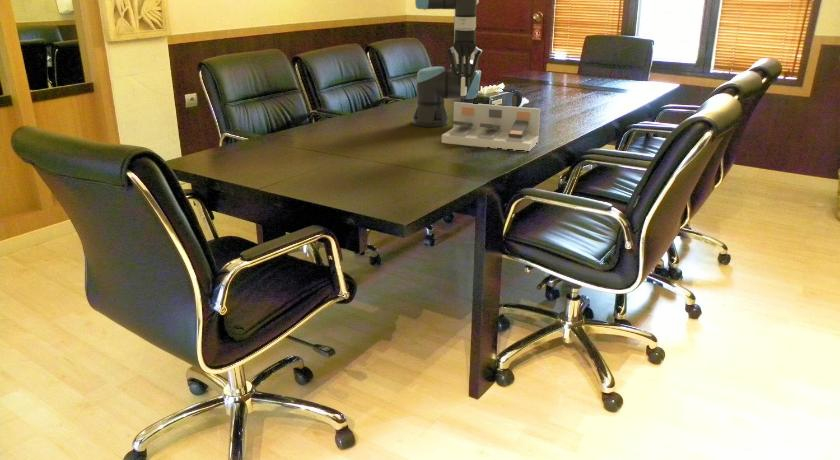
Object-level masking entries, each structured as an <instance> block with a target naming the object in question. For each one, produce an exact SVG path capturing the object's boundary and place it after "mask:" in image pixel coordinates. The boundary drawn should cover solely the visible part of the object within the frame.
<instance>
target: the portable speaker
mask: <svg viewBox="0 0 840 460" xmlns="http://www.w3.org/2000/svg"><path fill="white" fill-rule="evenodd" d="M501 89H502V88H501ZM502 90H503V91H504V92H512V91H513V92H512V93H515V94H513V96H512V107H521V105H522V102H523V93H522V91H521V90H520V89H518V88H517V87H504V88H503V89H502Z"/></svg>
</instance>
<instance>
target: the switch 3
mask: <svg viewBox="0 0 840 460" xmlns="http://www.w3.org/2000/svg"><path fill="white" fill-rule="evenodd" d="M528 124H529V121H520V120H515V122H514V124H513V126H512V128H511V130H510V132H509V137H518V138H522V137H523V135H524V133H525V131H526V129H527V126H528Z"/></svg>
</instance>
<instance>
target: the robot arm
mask: <svg viewBox="0 0 840 460" xmlns="http://www.w3.org/2000/svg"><path fill="white" fill-rule="evenodd" d="M414 1H415V2H414V3H415V8H416V9H418V10H425V11H426V10H454V22H453V23H454V27H453V28H454V30H453V31H454V35H453V45H452V47H450V48H447V53H448V55H449V57H450V58H449V59H450V63H451V64H450V66H449V69H447V70H446V68H445V67H444V66H429V67H425V68H421V69H419V70H418V72H417V73H416V74H417V75H416V106H415V110H414V113H413V117H412V124H413V125H415V126H417V127H418V126H419V127H428V128H437V127H443V126H447V125H448V124H449V116H448V114H447V110H446V106H445V100H451V99H452V100H471V99H474V98H476V97H477V96H478V91H480V83H481V76H482V71H481V70H480V69H479V68H478V67H479V66H478V63H479V60H480V56H481V55H482V53H483V49H480V48H479V47H477V43H476V35H477V31H476V28H477V5H478V4H479V3H480V0H414Z"/></svg>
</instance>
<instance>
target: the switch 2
mask: <svg viewBox="0 0 840 460" xmlns="http://www.w3.org/2000/svg"><path fill="white" fill-rule="evenodd" d="M480 127H485V128H494V129H500V126H498V125H494V124H487V123H480Z"/></svg>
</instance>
